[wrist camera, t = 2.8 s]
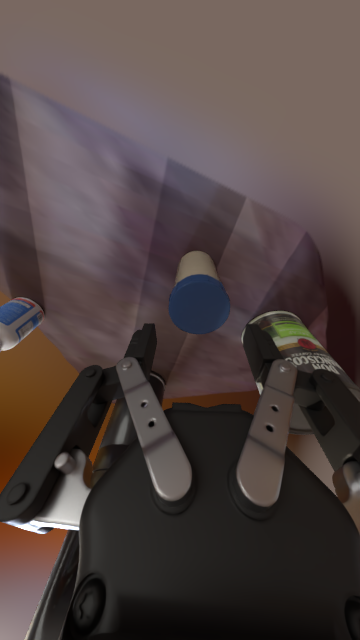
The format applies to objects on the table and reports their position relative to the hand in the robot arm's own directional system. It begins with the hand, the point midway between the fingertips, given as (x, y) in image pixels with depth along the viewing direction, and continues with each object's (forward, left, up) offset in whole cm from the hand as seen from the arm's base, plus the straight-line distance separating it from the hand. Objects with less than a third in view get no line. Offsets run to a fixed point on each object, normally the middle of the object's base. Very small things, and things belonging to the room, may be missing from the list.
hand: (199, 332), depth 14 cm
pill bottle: (-14, +26, -15) cm, 33 cm away
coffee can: (-8, -16, -15) cm, 23 cm away
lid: (0, 0, -4) cm, 4 cm away
